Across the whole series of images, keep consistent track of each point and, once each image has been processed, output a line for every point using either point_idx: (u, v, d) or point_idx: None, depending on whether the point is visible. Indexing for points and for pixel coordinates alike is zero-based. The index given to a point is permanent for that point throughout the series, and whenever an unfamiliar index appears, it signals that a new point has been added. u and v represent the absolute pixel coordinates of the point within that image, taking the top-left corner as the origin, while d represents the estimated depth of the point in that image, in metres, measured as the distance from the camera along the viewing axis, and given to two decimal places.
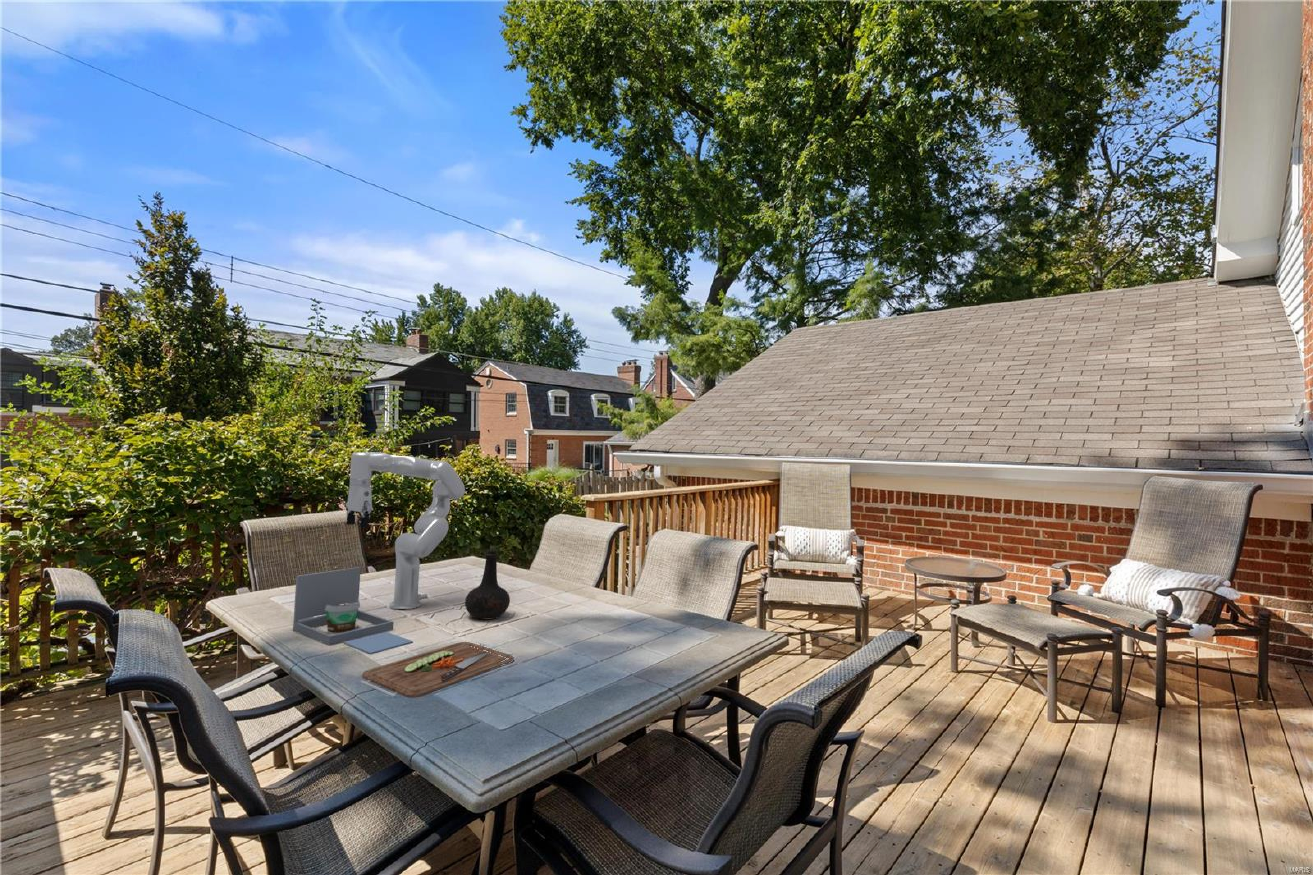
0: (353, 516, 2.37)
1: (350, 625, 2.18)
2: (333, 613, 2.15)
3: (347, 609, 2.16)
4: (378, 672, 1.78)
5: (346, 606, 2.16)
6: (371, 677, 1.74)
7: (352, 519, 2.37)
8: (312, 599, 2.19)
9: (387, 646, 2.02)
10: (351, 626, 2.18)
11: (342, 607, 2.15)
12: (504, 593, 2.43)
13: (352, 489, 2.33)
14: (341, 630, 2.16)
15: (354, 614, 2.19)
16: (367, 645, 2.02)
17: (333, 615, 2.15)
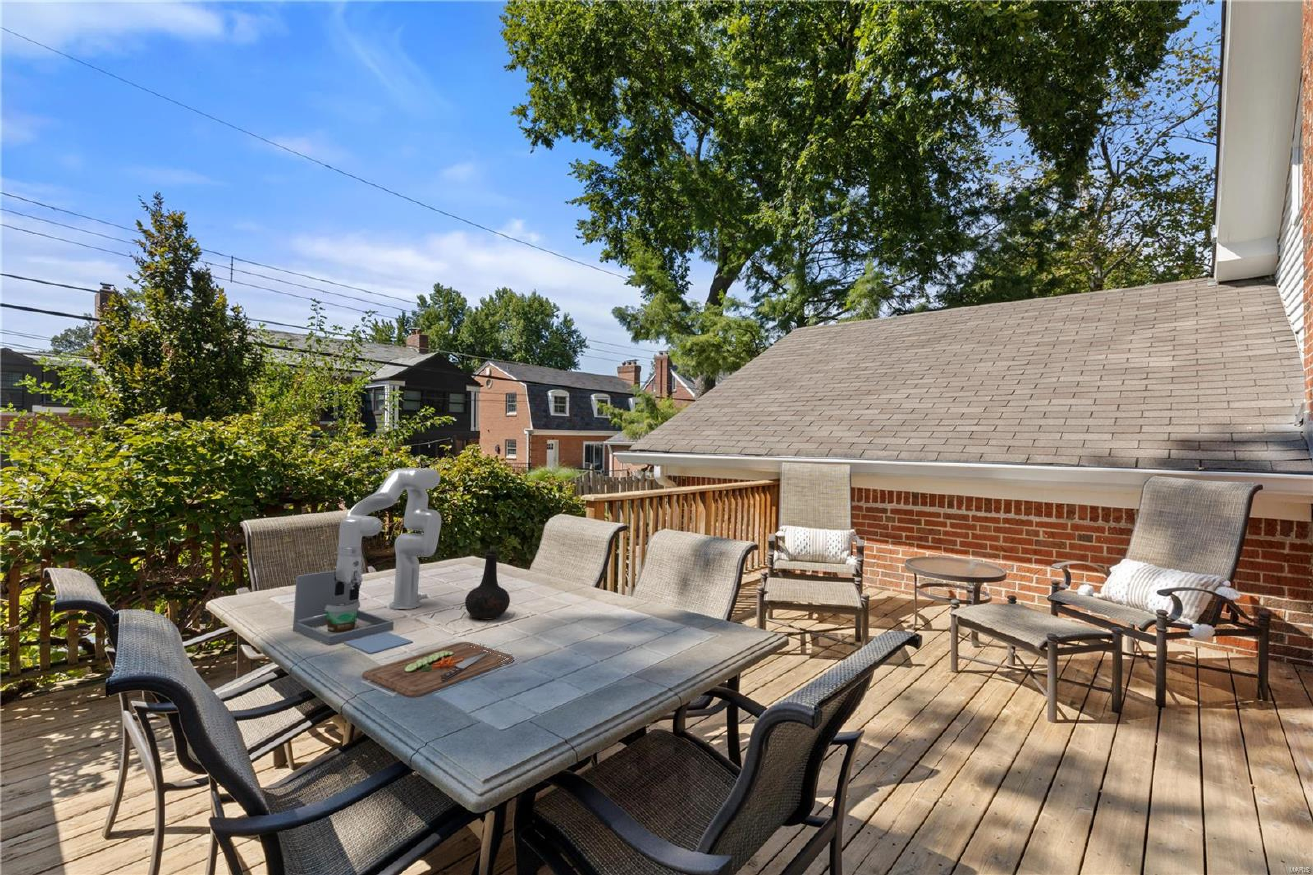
0: (342, 586, 2.21)
1: (350, 625, 2.18)
2: (333, 613, 2.15)
3: (347, 609, 2.16)
4: (378, 672, 1.78)
5: (346, 606, 2.16)
6: (371, 677, 1.74)
7: (341, 589, 2.21)
8: (312, 599, 2.19)
9: (387, 646, 2.02)
10: (351, 626, 2.18)
11: (342, 607, 2.15)
12: (504, 593, 2.43)
13: (341, 558, 2.17)
14: (341, 630, 2.16)
15: (354, 614, 2.19)
16: (367, 645, 2.02)
17: (333, 615, 2.15)
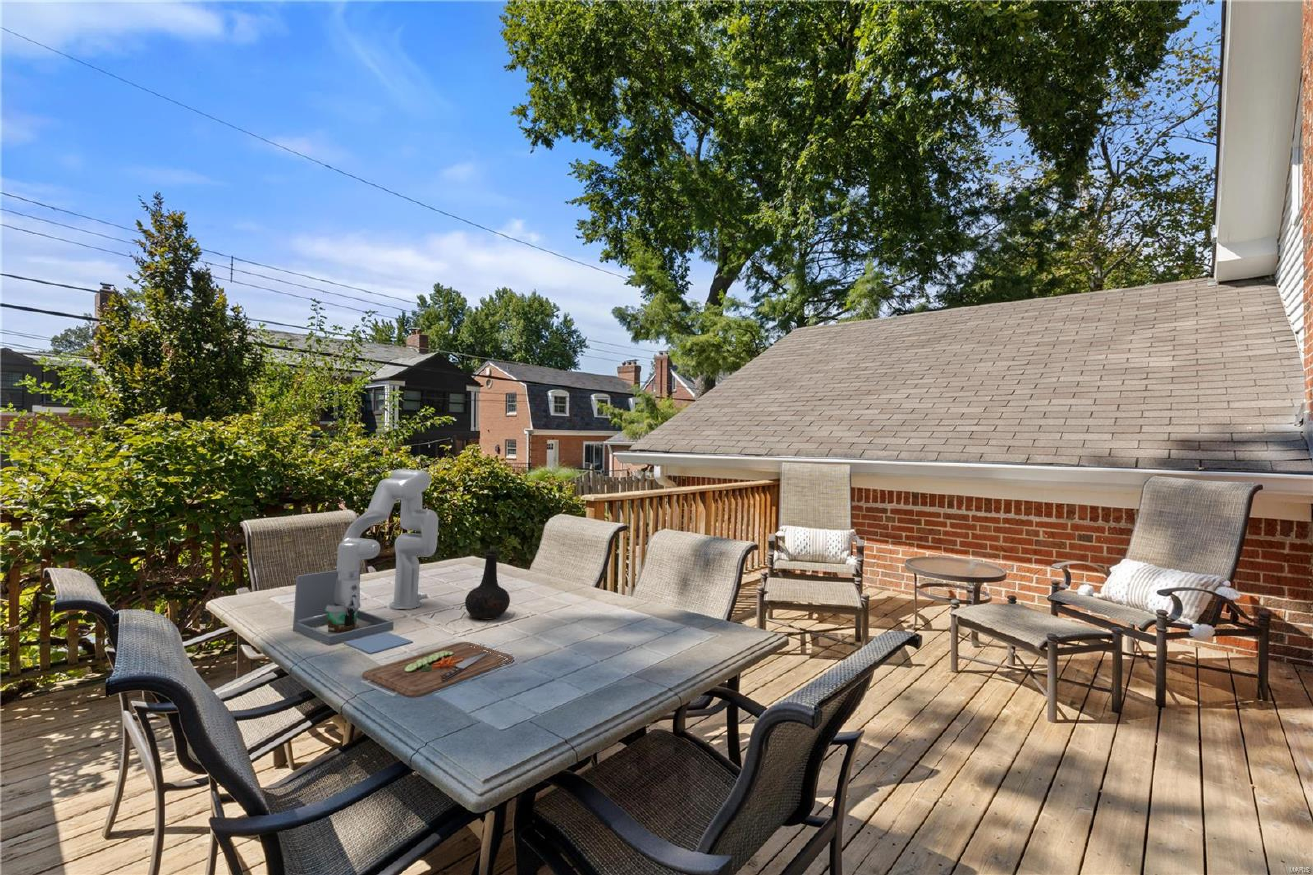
0: None
1: (351, 625, 2.18)
2: (334, 613, 2.14)
3: None
4: (378, 672, 1.78)
5: None
6: (371, 677, 1.74)
7: None
8: (312, 599, 2.19)
9: (387, 646, 2.02)
10: (352, 626, 2.18)
11: (343, 607, 2.15)
12: (504, 593, 2.43)
13: (339, 582, 2.17)
14: (342, 630, 2.15)
15: (355, 614, 2.19)
16: (367, 645, 2.02)
17: (334, 615, 2.14)
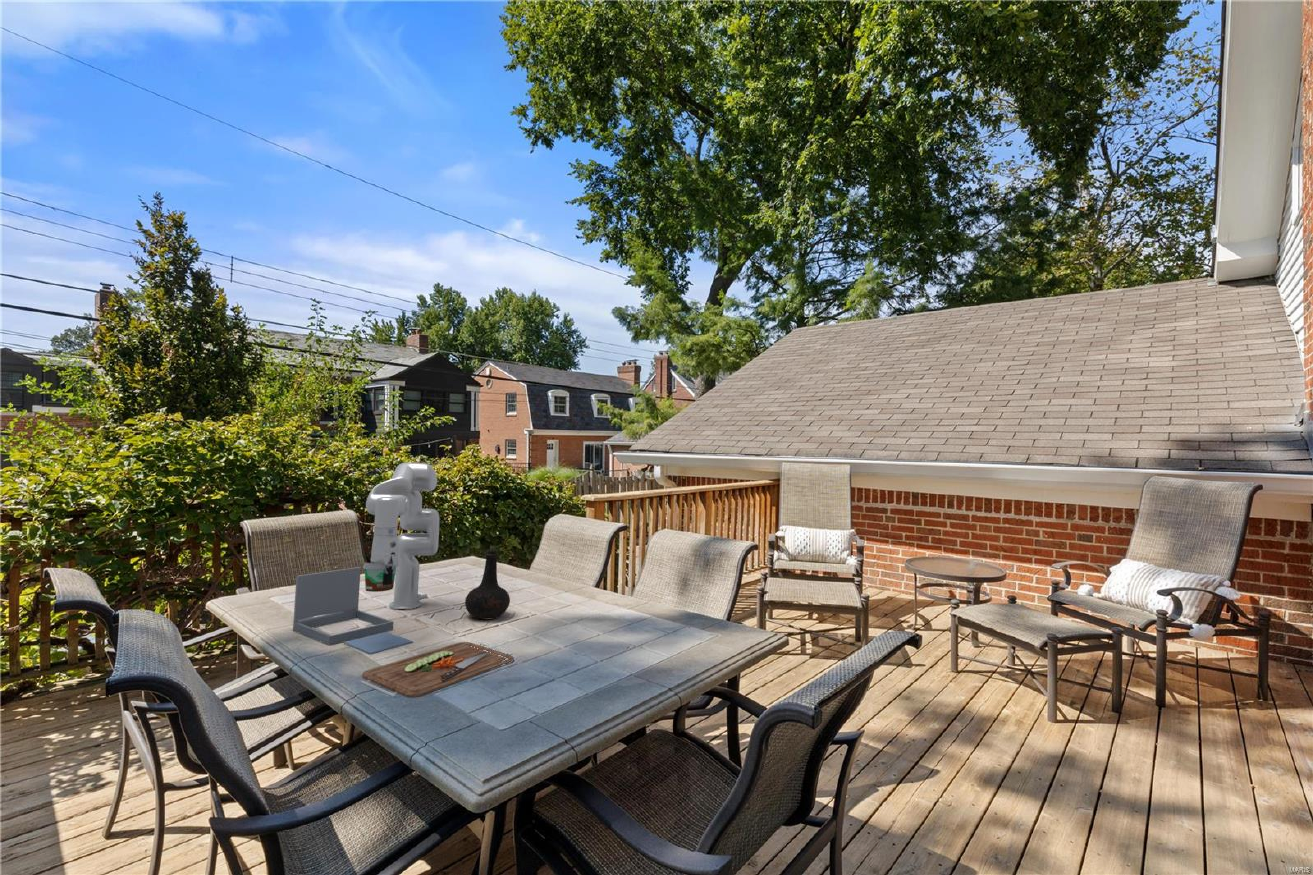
0: None
1: (389, 584, 2.06)
2: (372, 571, 2.03)
3: None
4: (378, 672, 1.78)
5: None
6: (371, 677, 1.74)
7: None
8: (312, 599, 2.19)
9: (387, 646, 2.02)
10: (390, 585, 2.07)
11: (381, 565, 2.04)
12: (504, 593, 2.43)
13: (377, 539, 2.05)
14: (380, 589, 2.04)
15: None
16: (367, 645, 2.02)
17: (372, 573, 2.03)
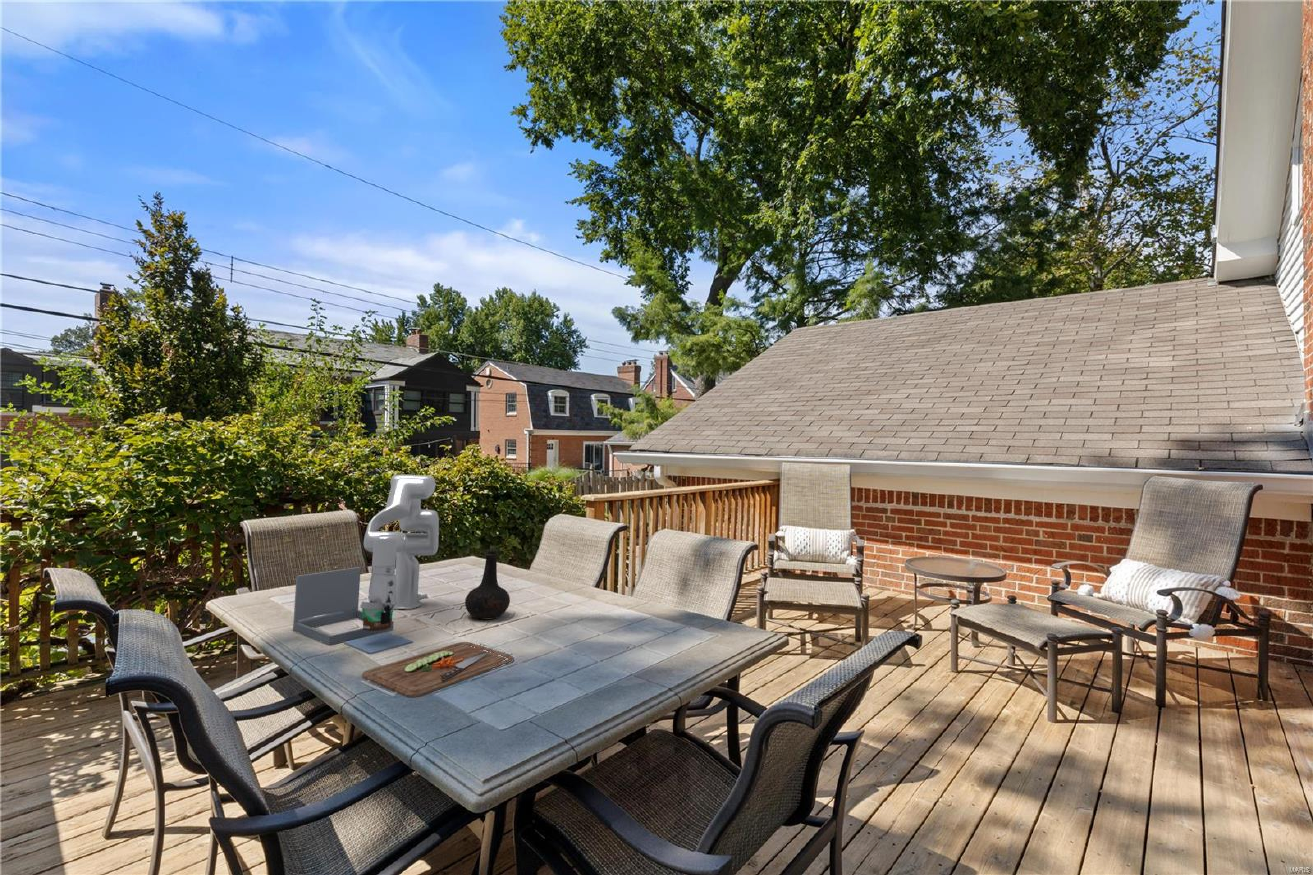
0: None
1: (387, 623, 2.06)
2: (369, 610, 2.02)
3: None
4: (378, 672, 1.78)
5: None
6: (371, 677, 1.74)
7: None
8: (312, 599, 2.19)
9: (387, 646, 2.02)
10: (388, 624, 2.06)
11: (379, 604, 2.03)
12: (504, 593, 2.43)
13: (375, 578, 2.05)
14: (378, 628, 2.03)
15: (391, 611, 2.07)
16: (367, 645, 2.02)
17: (370, 612, 2.02)
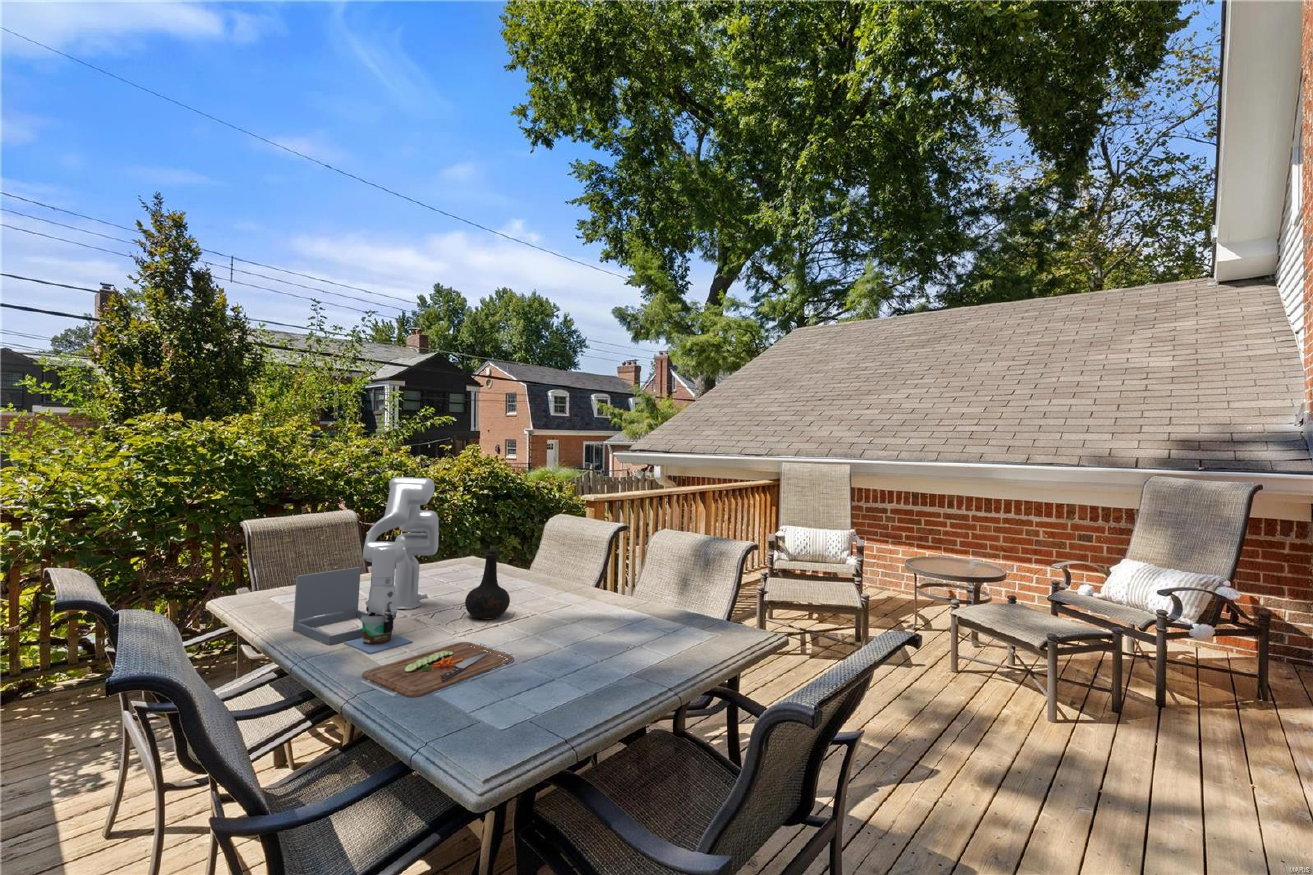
0: None
1: (387, 637, 2.06)
2: (369, 624, 2.02)
3: (384, 620, 2.04)
4: (378, 672, 1.78)
5: (383, 617, 2.04)
6: (371, 677, 1.74)
7: None
8: (312, 599, 2.19)
9: (387, 646, 2.02)
10: (388, 638, 2.06)
11: (379, 618, 2.03)
12: (504, 593, 2.43)
13: (374, 588, 2.05)
14: (378, 642, 2.03)
15: None
16: (367, 645, 2.02)
17: (370, 626, 2.02)
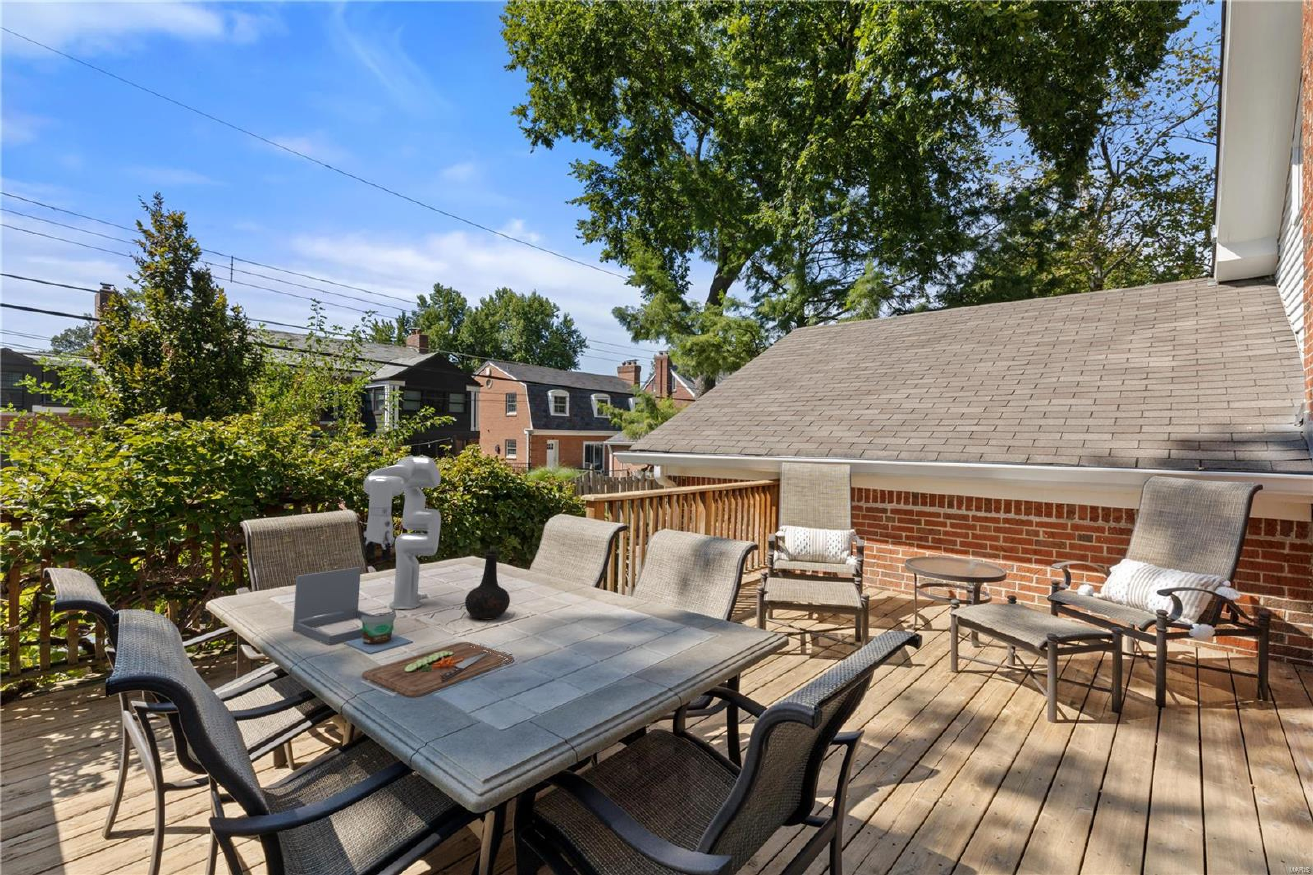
0: (372, 546, 2.18)
1: (387, 637, 2.06)
2: (369, 624, 2.02)
3: (384, 620, 2.04)
4: (378, 672, 1.78)
5: (383, 617, 2.04)
6: (371, 677, 1.74)
7: (371, 550, 2.18)
8: (312, 599, 2.19)
9: (387, 646, 2.02)
10: (388, 638, 2.06)
11: (379, 618, 2.03)
12: (504, 593, 2.43)
13: (372, 518, 2.14)
14: (378, 642, 2.03)
15: (391, 624, 2.07)
16: (367, 645, 2.02)
17: (370, 626, 2.02)
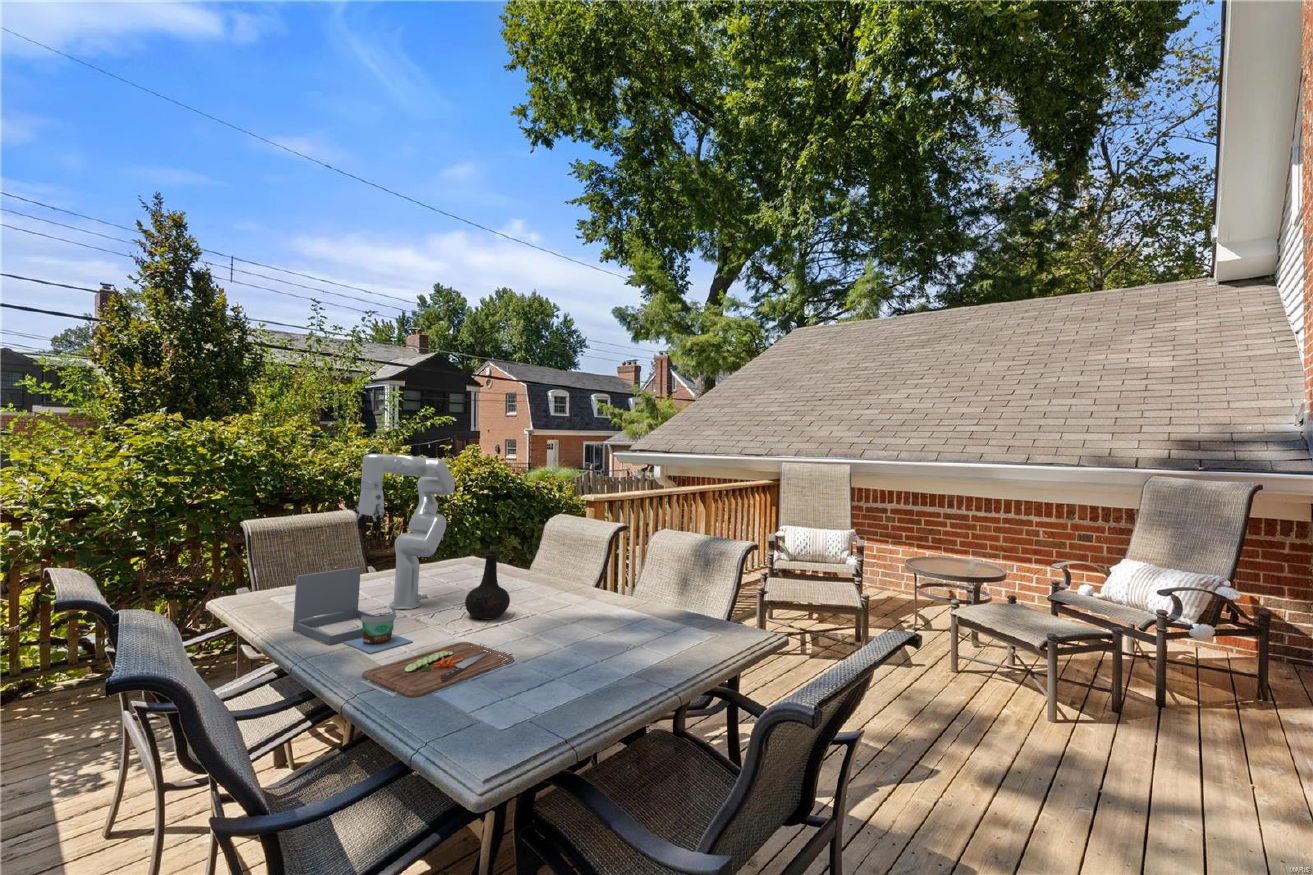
0: (364, 520, 2.31)
1: (387, 637, 2.06)
2: (369, 624, 2.02)
3: (384, 620, 2.04)
4: (378, 672, 1.78)
5: (383, 617, 2.04)
6: (371, 677, 1.74)
7: (363, 523, 2.31)
8: (312, 599, 2.19)
9: (387, 646, 2.02)
10: (388, 638, 2.06)
11: (379, 618, 2.03)
12: (504, 593, 2.43)
13: (364, 492, 2.27)
14: (378, 642, 2.03)
15: (391, 624, 2.07)
16: (367, 645, 2.02)
17: (370, 626, 2.02)
